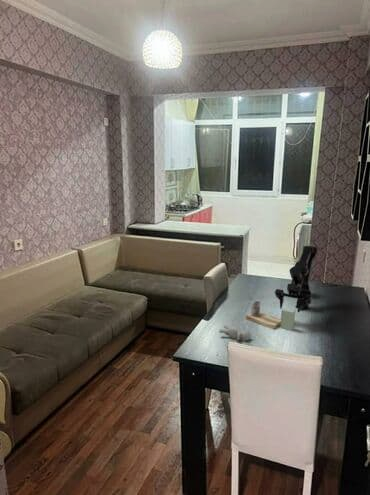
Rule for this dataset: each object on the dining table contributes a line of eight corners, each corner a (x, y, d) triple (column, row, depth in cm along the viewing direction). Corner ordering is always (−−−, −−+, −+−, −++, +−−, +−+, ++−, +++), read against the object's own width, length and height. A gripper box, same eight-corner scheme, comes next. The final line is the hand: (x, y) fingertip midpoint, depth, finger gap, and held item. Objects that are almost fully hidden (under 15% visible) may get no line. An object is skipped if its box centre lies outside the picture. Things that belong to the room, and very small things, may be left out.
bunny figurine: (247, 336, 171) (218, 327, 178) (245, 346, 173) (217, 336, 179) (253, 329, 180) (225, 320, 186) (251, 338, 181) (224, 329, 187)
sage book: (282, 325, 193) (283, 308, 191) (293, 328, 190) (295, 310, 188) (280, 327, 190) (281, 310, 188) (292, 330, 187) (293, 312, 185)
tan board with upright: (256, 314, 208) (257, 297, 206) (283, 323, 195) (284, 306, 193) (245, 318, 201) (246, 302, 199) (273, 329, 189) (274, 311, 186)
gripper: (276, 274, 195) (269, 299, 188) (312, 280, 186) (305, 307, 179) (280, 284, 203) (273, 309, 196) (314, 290, 194) (308, 316, 187)
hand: (289, 310), depth 189 cm, fingers open, 9 cm apart
